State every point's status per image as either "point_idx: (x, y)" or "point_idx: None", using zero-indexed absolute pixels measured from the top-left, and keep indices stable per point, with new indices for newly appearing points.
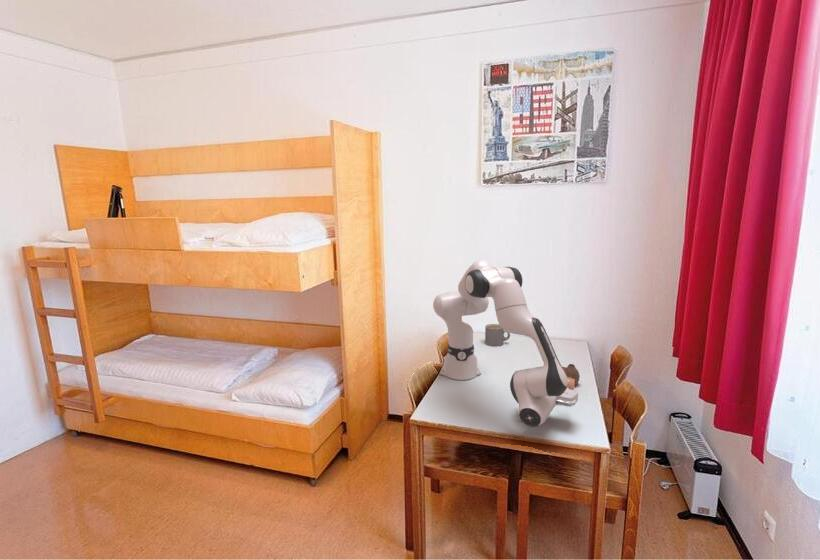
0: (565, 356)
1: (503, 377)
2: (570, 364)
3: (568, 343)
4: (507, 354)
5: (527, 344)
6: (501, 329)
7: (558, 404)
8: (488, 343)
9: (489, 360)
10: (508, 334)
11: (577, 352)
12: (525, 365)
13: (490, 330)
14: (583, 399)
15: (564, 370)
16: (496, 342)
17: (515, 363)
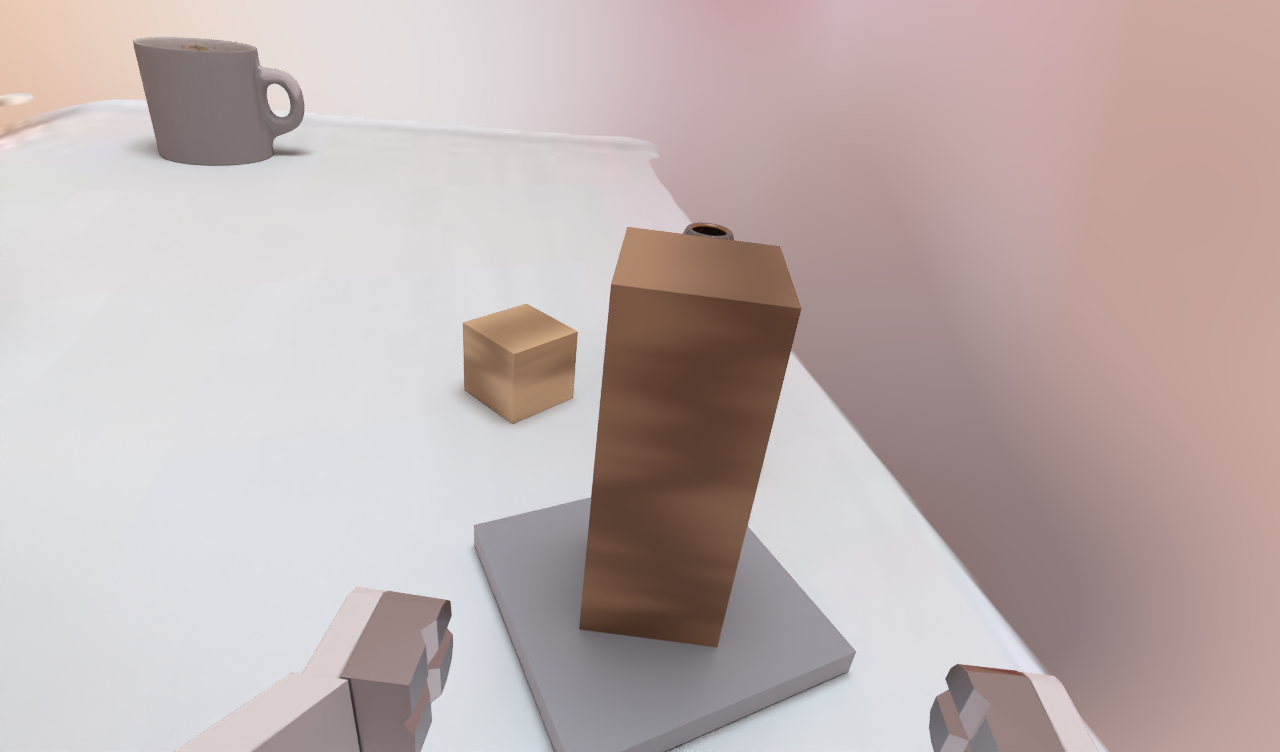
0: (594, 202)
1: (117, 384)
2: (695, 227)
3: (590, 154)
4: (270, 201)
5: (406, 157)
6: (236, 58)
7: (686, 740)
8: (169, 147)
9: (102, 241)
10: (292, 97)
11: (640, 185)
12: (367, 260)
13: (159, 60)
14: (864, 545)
15: (793, 292)
16: (217, 139)
17: (299, 251)
